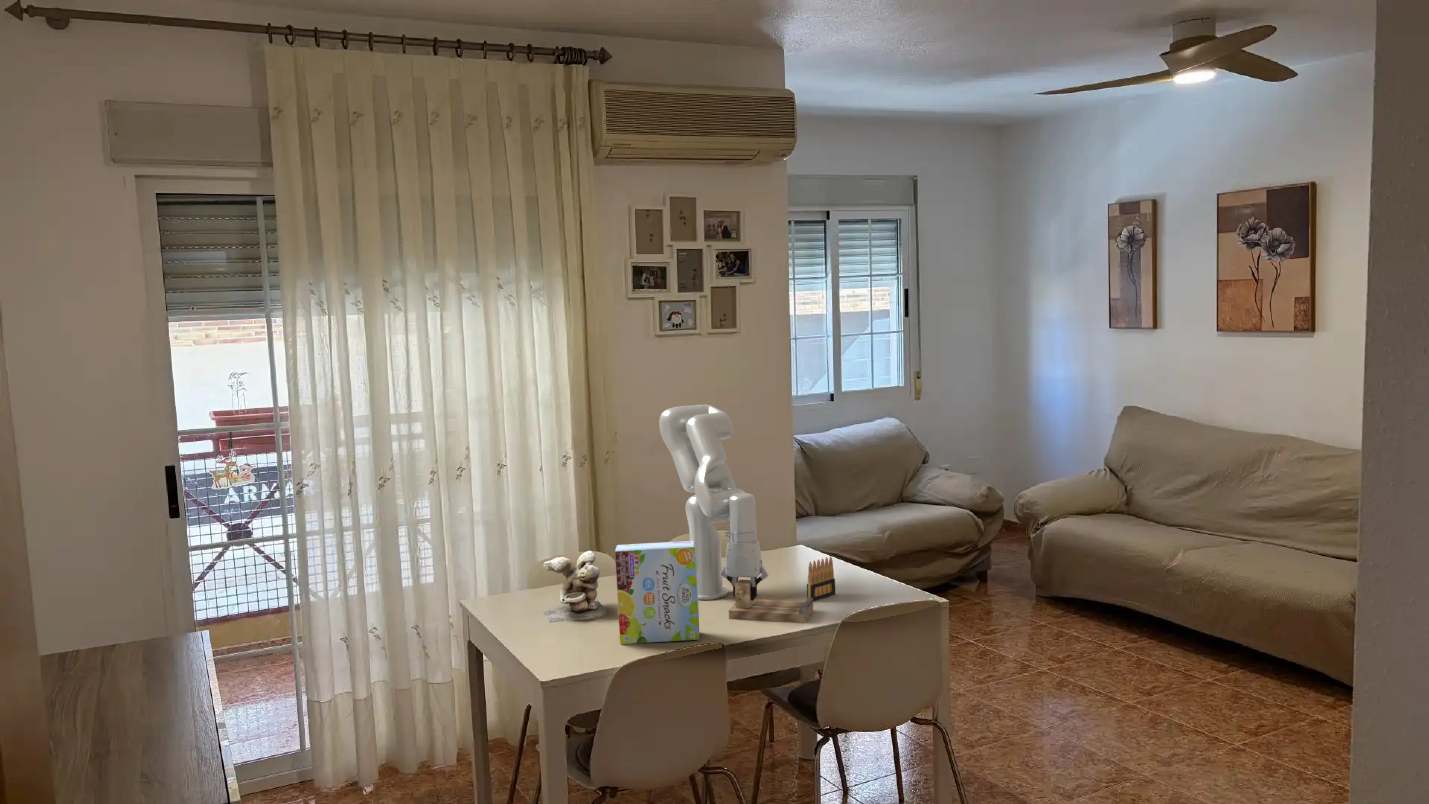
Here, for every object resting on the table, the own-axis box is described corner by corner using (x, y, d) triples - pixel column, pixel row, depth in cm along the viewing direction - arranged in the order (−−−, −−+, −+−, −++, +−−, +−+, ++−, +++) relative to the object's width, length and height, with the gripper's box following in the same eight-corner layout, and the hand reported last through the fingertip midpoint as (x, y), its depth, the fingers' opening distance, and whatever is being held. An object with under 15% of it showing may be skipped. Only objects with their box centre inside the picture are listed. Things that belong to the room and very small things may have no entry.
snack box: (699, 631, 294) (696, 539, 291) (700, 641, 285) (696, 547, 282) (620, 634, 293) (616, 542, 290) (618, 645, 284) (614, 550, 281)
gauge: (732, 610, 303) (732, 586, 302) (742, 600, 313) (742, 576, 313) (746, 611, 302) (745, 586, 301) (756, 601, 312) (755, 577, 312)
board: (729, 618, 304) (728, 606, 304) (739, 606, 315) (739, 594, 315) (805, 622, 298) (804, 610, 298) (813, 610, 309) (812, 598, 309)
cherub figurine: (549, 624, 304) (546, 563, 302) (539, 607, 321) (536, 549, 319) (610, 616, 309) (607, 556, 308) (597, 600, 326) (594, 543, 325)
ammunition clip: (811, 602, 318) (810, 562, 316) (806, 600, 319) (805, 561, 318) (835, 594, 324) (835, 556, 323) (831, 593, 326) (830, 555, 325)
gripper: (711, 538, 305) (713, 601, 307) (768, 540, 300) (770, 604, 302) (719, 532, 312) (721, 594, 314) (774, 534, 308) (776, 596, 309)
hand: (745, 598), depth 308 cm, fingers closed on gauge, 4 cm apart
